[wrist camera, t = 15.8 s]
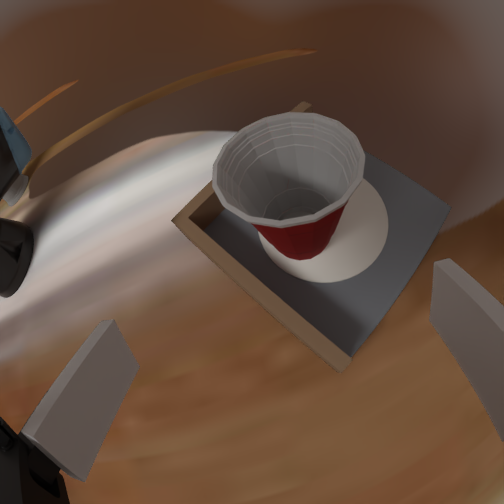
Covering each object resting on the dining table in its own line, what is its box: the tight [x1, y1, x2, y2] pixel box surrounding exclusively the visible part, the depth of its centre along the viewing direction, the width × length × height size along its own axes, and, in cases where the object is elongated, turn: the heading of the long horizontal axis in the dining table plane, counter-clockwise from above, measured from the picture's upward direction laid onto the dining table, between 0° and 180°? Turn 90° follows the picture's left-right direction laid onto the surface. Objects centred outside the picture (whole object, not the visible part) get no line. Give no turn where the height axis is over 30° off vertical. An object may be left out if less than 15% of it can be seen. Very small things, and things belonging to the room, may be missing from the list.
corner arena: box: [171, 101, 451, 373], centre depth 28 cm, size 22×22×4 cm
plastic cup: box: [212, 112, 365, 261], centre depth 24 cm, size 11×11×12 cm
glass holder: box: [3, 173, 28, 206], centre depth 46 cm, size 9×14×15 cm, turn 31°
